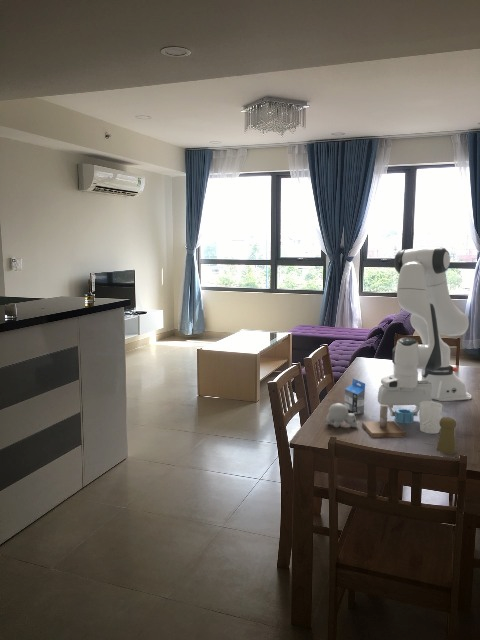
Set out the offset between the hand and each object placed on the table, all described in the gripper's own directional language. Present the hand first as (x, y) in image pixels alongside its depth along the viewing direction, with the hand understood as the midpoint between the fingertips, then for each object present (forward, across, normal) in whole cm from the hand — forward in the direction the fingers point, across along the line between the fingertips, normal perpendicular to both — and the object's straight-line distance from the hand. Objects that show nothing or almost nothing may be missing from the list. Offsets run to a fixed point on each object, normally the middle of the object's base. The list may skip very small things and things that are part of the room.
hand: (403, 415), depth 206 cm
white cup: (+2, -5, +12) cm, 13 cm away
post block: (+2, +12, +11) cm, 16 cm away
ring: (+2, 0, 0) cm, 2 cm away
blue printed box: (+2, +16, -13) cm, 21 cm away
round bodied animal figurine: (+2, +25, +5) cm, 26 cm away
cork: (+2, -3, +30) cm, 30 cm away
